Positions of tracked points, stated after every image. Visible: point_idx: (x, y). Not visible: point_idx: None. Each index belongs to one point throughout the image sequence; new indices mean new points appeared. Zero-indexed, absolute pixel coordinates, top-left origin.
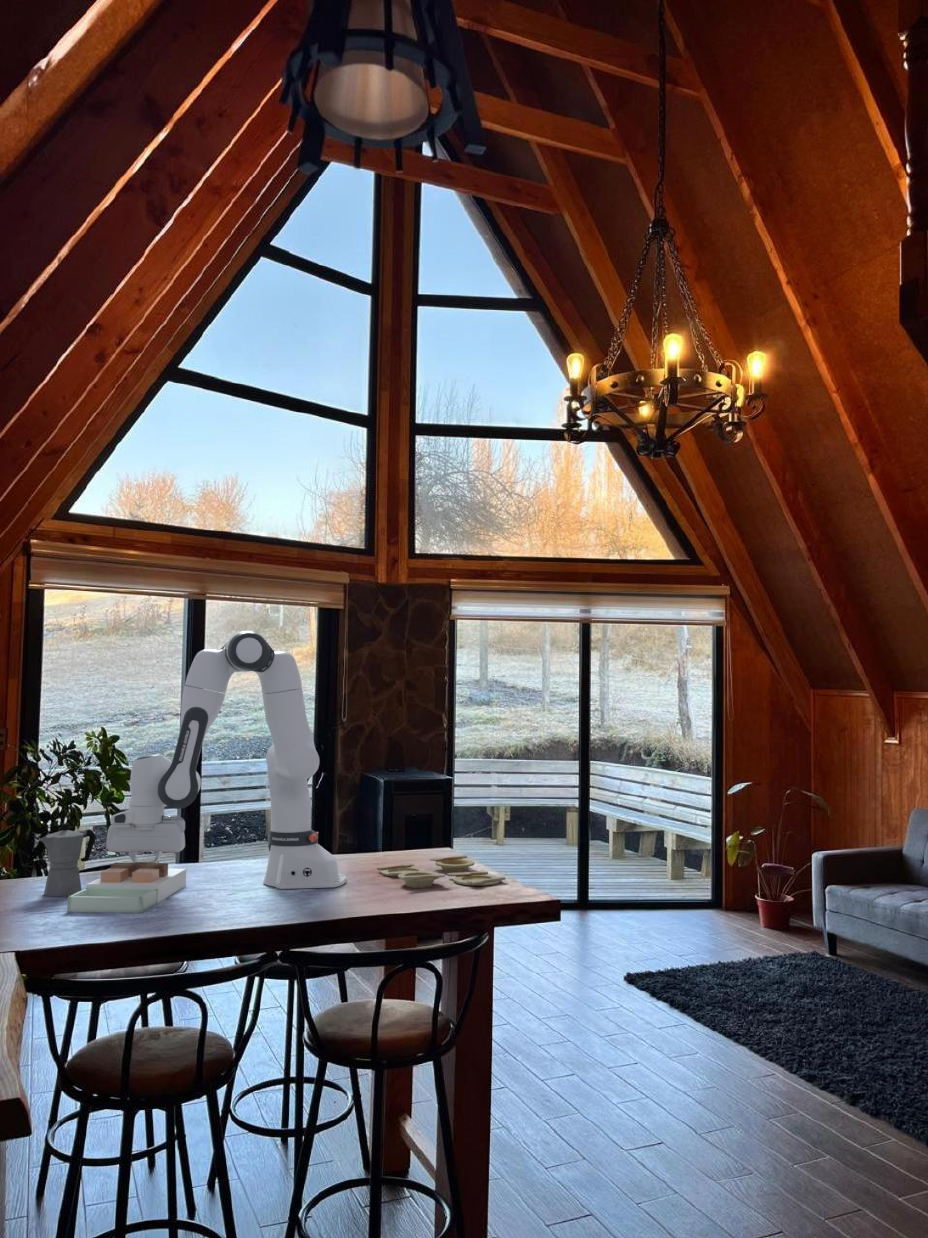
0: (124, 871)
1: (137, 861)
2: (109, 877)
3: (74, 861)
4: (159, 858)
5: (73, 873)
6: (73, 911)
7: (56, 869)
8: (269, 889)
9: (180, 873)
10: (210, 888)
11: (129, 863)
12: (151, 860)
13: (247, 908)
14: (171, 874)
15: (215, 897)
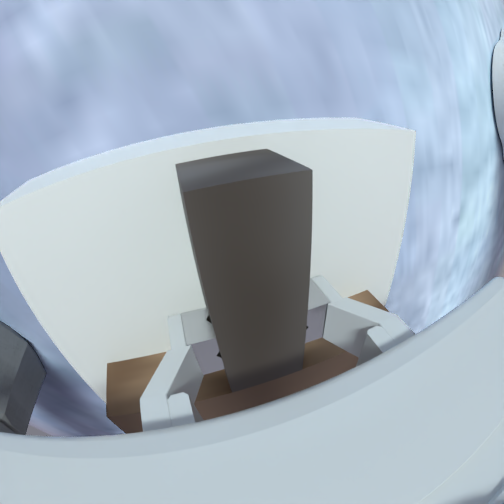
0: None
1: (198, 357)
2: None
3: None
4: (366, 309)
5: (24, 421)
6: None
7: None
8: (496, 161)
9: (401, 215)
10: (428, 156)
11: (202, 411)
12: (298, 309)
13: (455, 302)
14: (379, 277)
15: (435, 257)
